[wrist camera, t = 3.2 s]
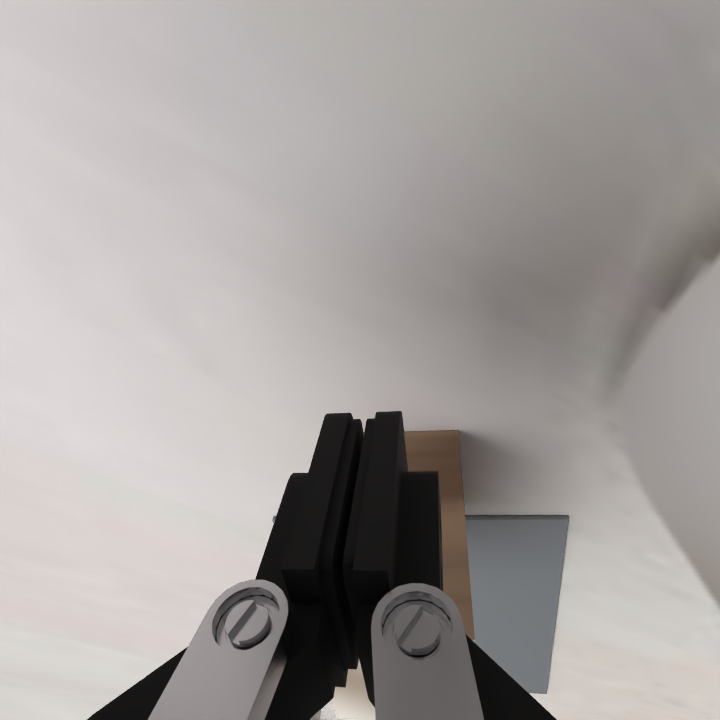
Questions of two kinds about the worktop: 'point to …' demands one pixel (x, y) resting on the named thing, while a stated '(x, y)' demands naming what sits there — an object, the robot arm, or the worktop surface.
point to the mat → (516, 591)
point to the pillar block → (443, 457)
